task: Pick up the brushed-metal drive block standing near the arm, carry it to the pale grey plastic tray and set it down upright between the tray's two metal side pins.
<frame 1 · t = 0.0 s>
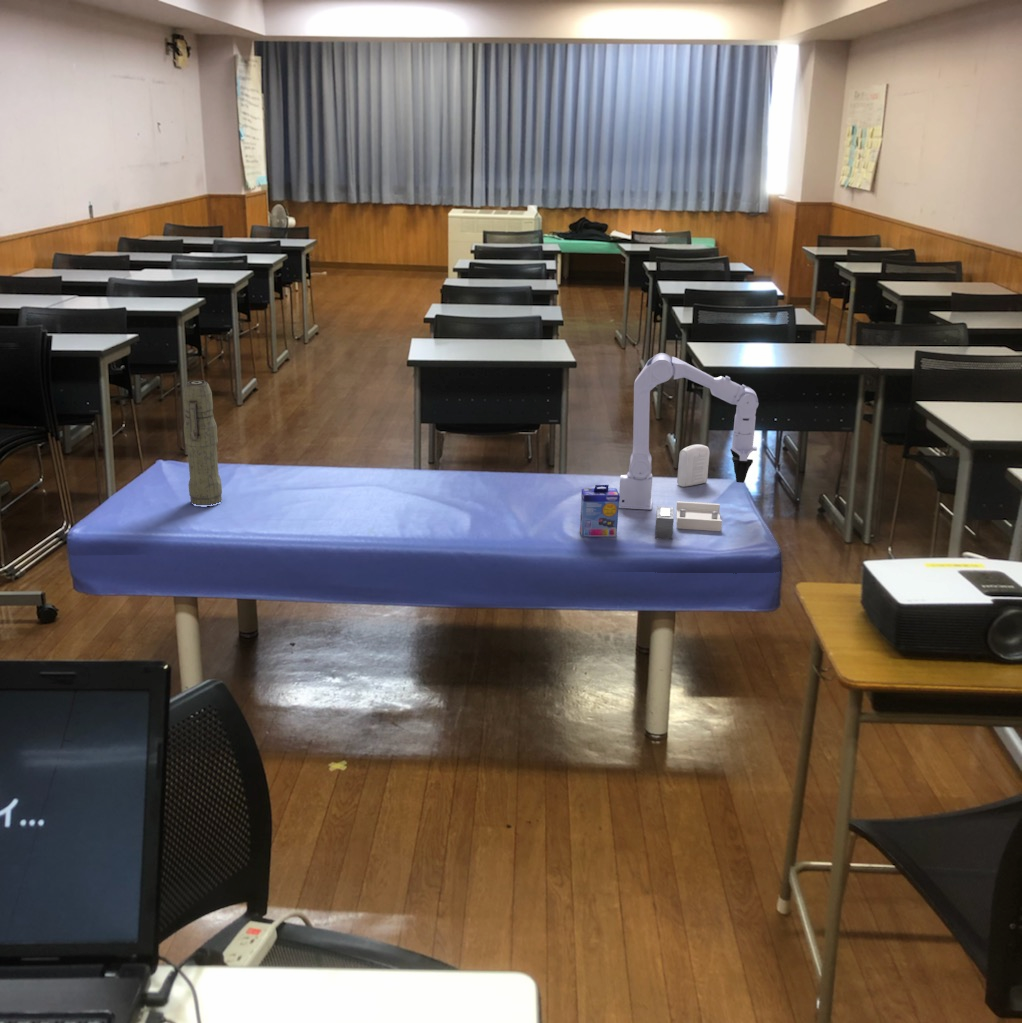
hand: (739, 477, 306), 10 cm above the table, fingers open, 7 cm apart
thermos: (206, 502, 308), on the table
drive: (663, 533, 292), on the table
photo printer: (692, 484, 332), on the table
tray: (698, 520, 301), on the table
ink cartridge box: (598, 534, 290), on the table
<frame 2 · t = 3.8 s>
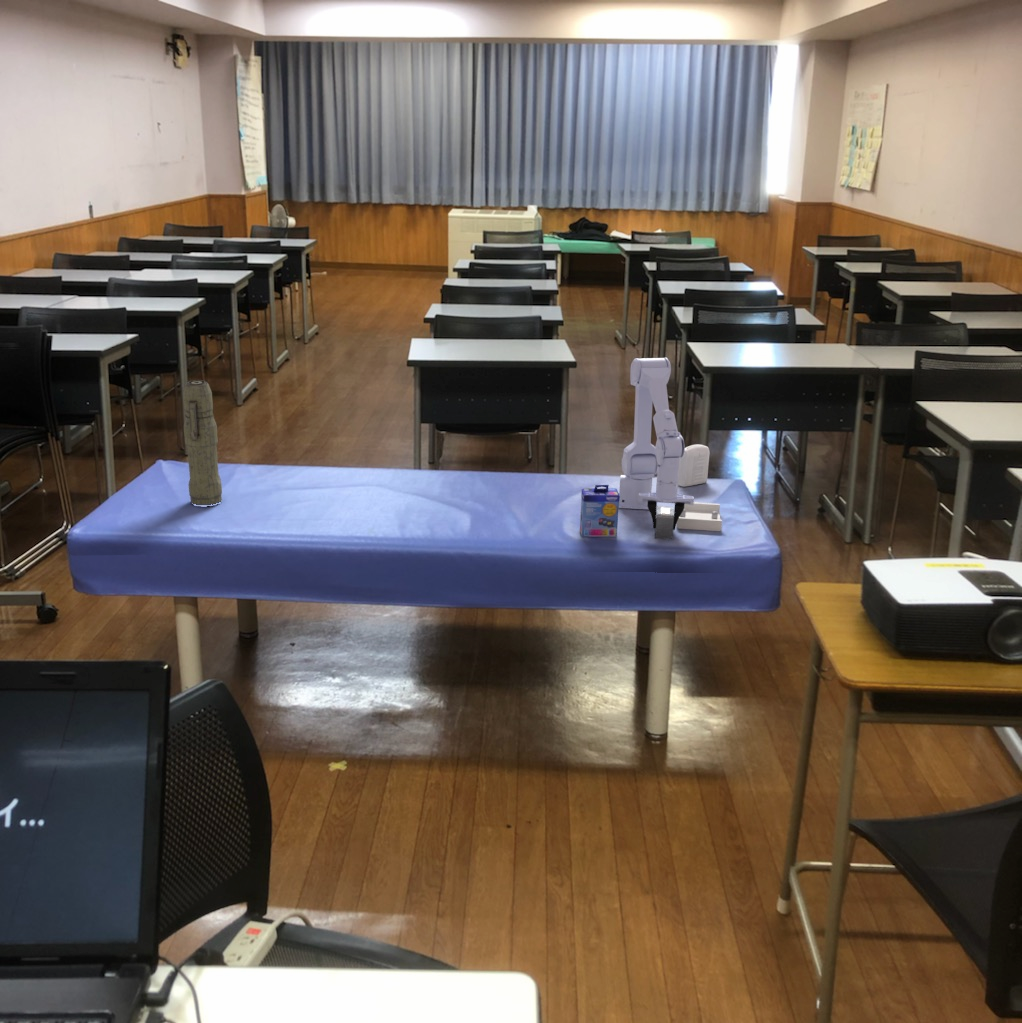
hand: (664, 527, 291), 1 cm above the table, fingers closed on drive, 4 cm apart
drive: (663, 532, 292), on the table, touching gripper
everything else where it was.
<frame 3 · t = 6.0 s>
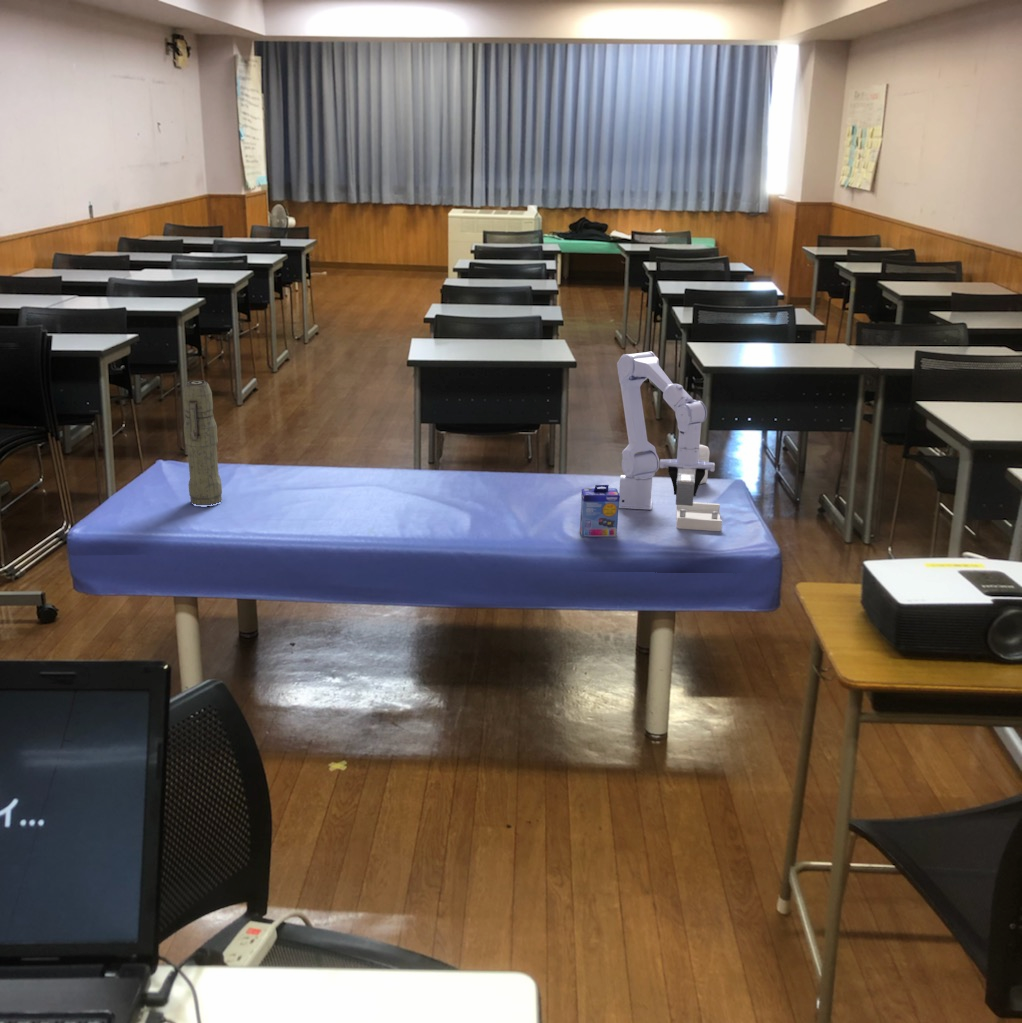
hand: (684, 494, 294), 9 cm above the table, fingers closed on drive, 4 cm apart
drive: (684, 499, 294), point 8 cm above the table, touching gripper
everything else where it was.
when the fingers open (4 cm above the table, at t = 8.4 s): drive drops 1 cm, resting on tray.
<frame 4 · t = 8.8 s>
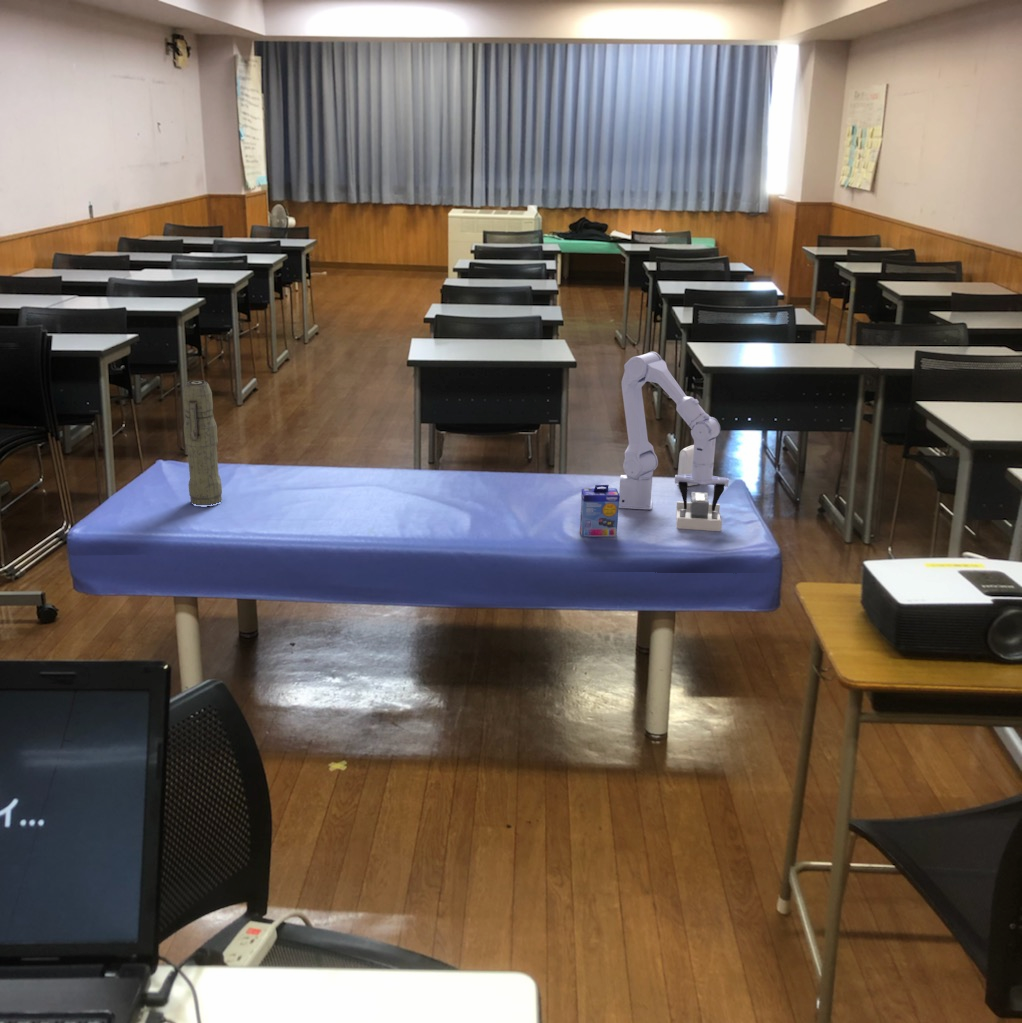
hand: (699, 508, 300), 4 cm above the table, fingers open, 7 cm apart
drive: (698, 517, 301), point 1 cm above the table, touching tray
everything else where it was.
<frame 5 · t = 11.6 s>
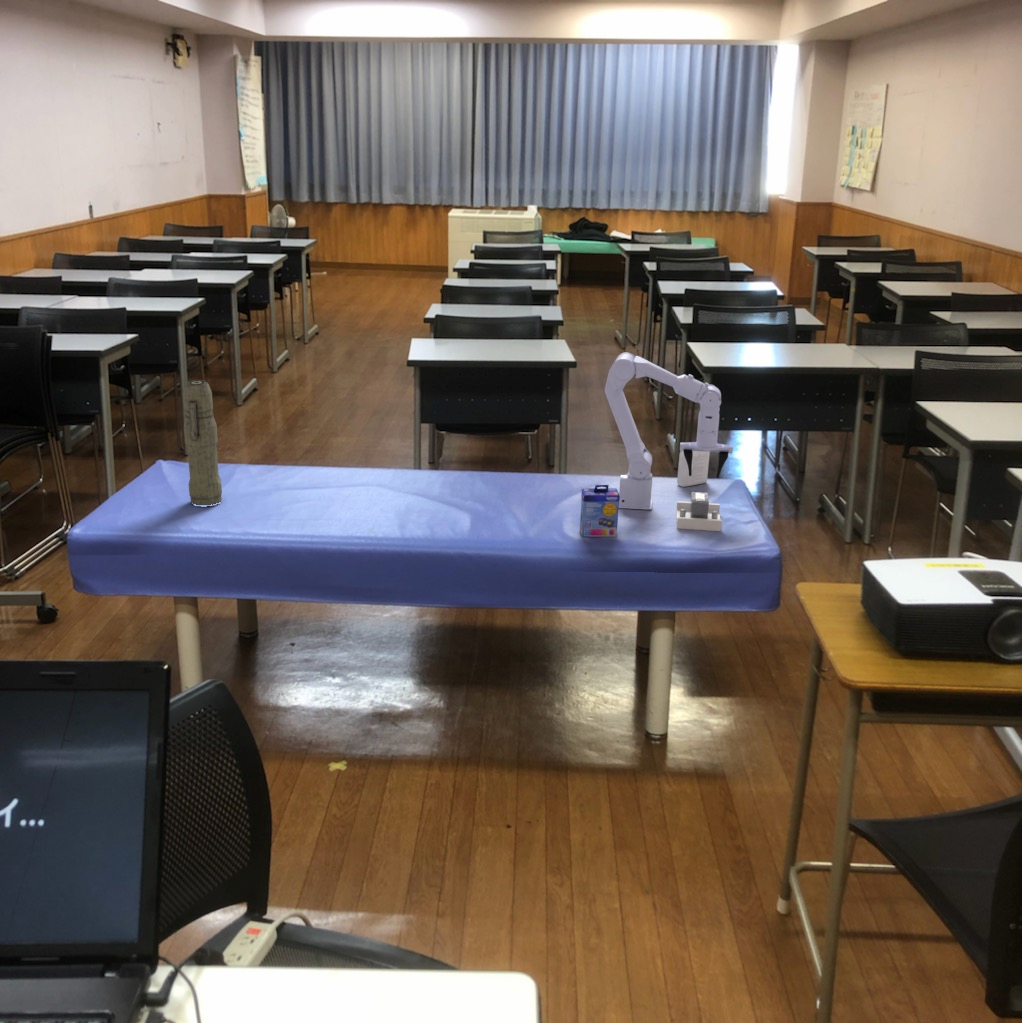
hand: (703, 475, 306), 10 cm above the table, fingers open, 7 cm apart
nothing on the table moved.
at the end: drive 0.1 cm off-centre on the tray, point 1.0 cm above the tray's base; drive tilted 0°; the gripper is holding nothing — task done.
